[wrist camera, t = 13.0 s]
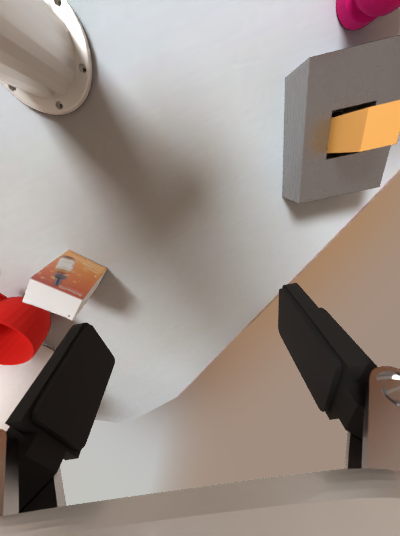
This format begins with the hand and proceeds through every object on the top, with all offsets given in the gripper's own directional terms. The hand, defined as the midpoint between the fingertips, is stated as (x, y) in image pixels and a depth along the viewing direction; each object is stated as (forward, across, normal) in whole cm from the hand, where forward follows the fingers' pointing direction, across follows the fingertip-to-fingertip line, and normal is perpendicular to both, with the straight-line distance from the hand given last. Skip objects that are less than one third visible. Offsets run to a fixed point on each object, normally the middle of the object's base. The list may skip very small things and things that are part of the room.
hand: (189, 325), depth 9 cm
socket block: (+28, -23, -6) cm, 37 cm away
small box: (+29, +24, +8) cm, 38 cm away
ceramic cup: (+28, +40, +13) cm, 51 cm away
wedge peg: (+28, -23, -6) cm, 37 cm away
